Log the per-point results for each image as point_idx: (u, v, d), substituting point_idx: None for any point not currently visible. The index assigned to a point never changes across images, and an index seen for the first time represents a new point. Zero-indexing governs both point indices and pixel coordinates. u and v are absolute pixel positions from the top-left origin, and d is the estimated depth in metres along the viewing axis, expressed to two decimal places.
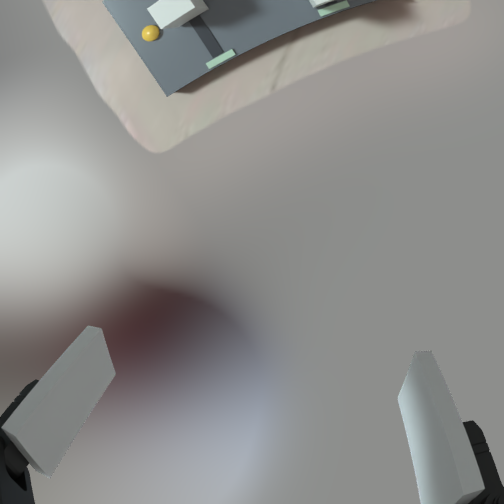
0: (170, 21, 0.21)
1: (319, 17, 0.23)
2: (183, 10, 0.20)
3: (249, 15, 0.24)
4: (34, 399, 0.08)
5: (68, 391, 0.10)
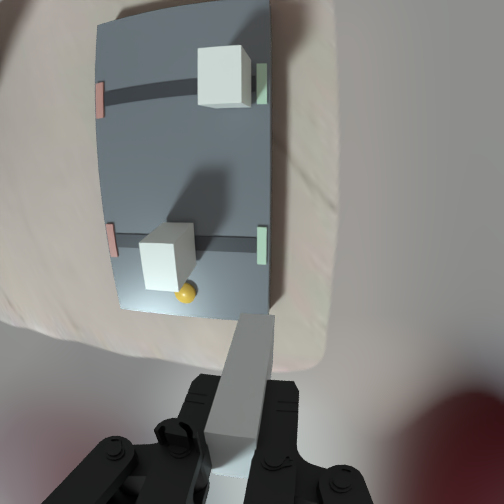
0: (175, 277, 0.21)
1: (267, 106, 0.21)
2: (170, 257, 0.21)
3: (226, 184, 0.23)
4: (229, 392, 0.10)
5: None
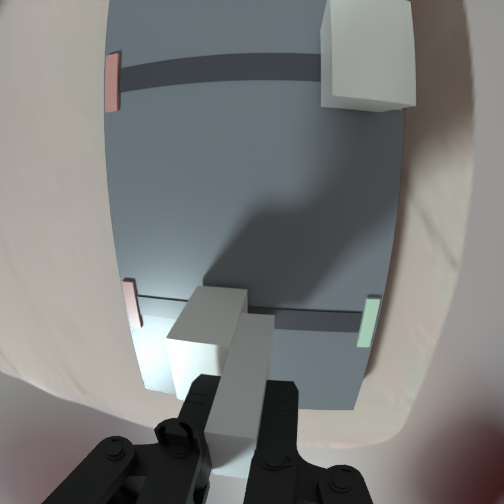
0: None
1: (401, 114, 0.12)
2: (222, 364, 0.12)
3: (328, 234, 0.14)
4: (230, 392, 0.10)
5: None
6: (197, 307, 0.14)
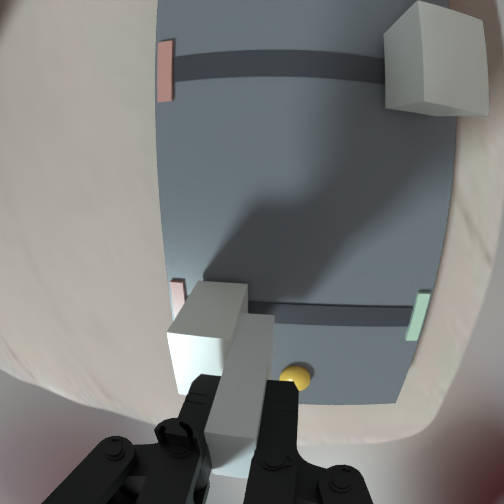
0: None
1: (453, 118, 0.12)
2: (224, 357, 0.12)
3: (387, 231, 0.14)
4: (229, 392, 0.10)
5: None
6: (198, 302, 0.14)
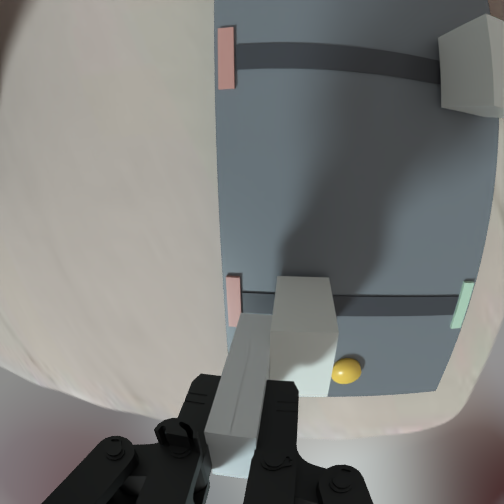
0: (327, 379, 0.12)
1: (496, 119, 0.11)
2: (328, 352, 0.12)
3: (440, 223, 0.14)
4: (230, 392, 0.10)
5: None
6: (288, 297, 0.14)
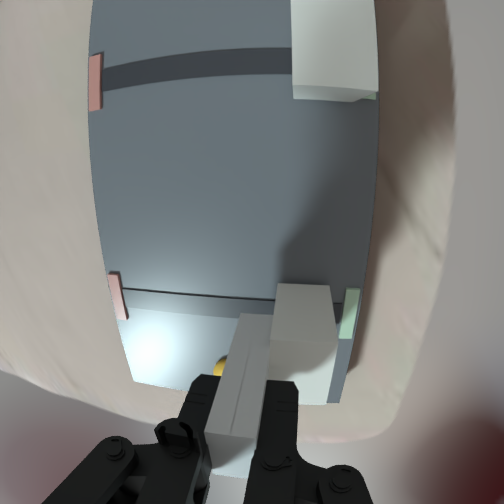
0: (326, 387, 0.12)
1: (375, 103, 0.12)
2: (327, 361, 0.11)
3: (304, 224, 0.15)
4: (230, 392, 0.10)
5: None
6: (288, 305, 0.14)
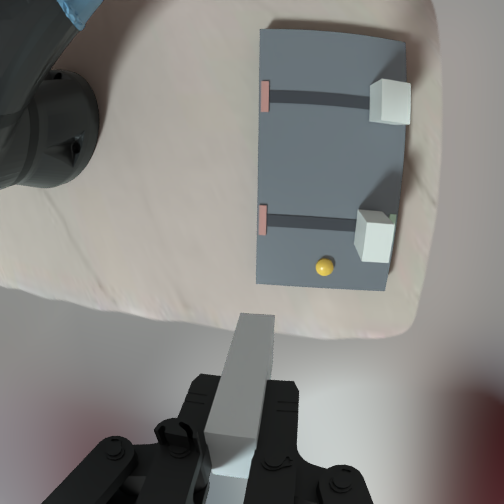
0: (389, 251, 0.26)
1: (404, 125, 0.26)
2: (390, 235, 0.26)
3: (371, 180, 0.29)
4: (229, 392, 0.10)
5: None
6: (367, 215, 0.28)
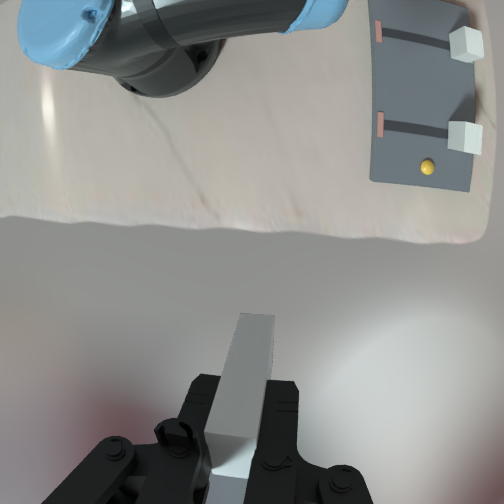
0: (480, 146, 0.28)
1: (472, 64, 0.28)
2: (480, 133, 0.27)
3: (455, 100, 0.30)
4: (229, 392, 0.10)
5: None
6: None
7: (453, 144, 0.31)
